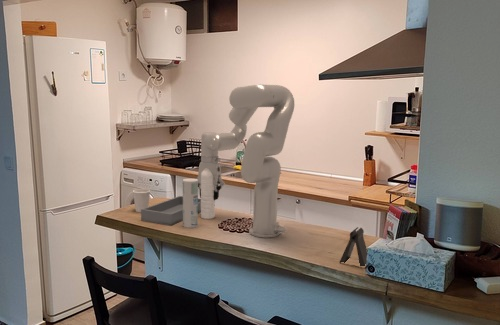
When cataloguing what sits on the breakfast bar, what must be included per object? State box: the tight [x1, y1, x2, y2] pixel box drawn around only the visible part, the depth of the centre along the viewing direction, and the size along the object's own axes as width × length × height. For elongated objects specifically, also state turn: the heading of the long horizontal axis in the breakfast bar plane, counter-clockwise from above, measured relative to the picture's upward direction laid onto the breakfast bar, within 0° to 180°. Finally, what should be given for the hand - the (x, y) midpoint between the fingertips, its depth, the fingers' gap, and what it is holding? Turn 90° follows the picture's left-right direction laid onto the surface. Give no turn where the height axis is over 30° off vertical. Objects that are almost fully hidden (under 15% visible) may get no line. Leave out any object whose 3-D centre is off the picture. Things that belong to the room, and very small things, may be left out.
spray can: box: [182, 178, 199, 229], centre depth 186 cm, size 6×6×20 cm
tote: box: [140, 195, 201, 226], centre depth 203 cm, size 16×30×5 cm, turn 155°
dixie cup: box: [131, 188, 151, 213], centre depth 209 cm, size 8×8×10 cm
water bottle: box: [200, 168, 216, 220], centre depth 200 cm, size 9×6×25 cm
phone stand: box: [339, 226, 368, 266], centre depth 149 cm, size 9×6×12 cm, turn 59°
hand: (209, 198), depth 201 cm, fingers closed on water bottle, 6 cm apart
